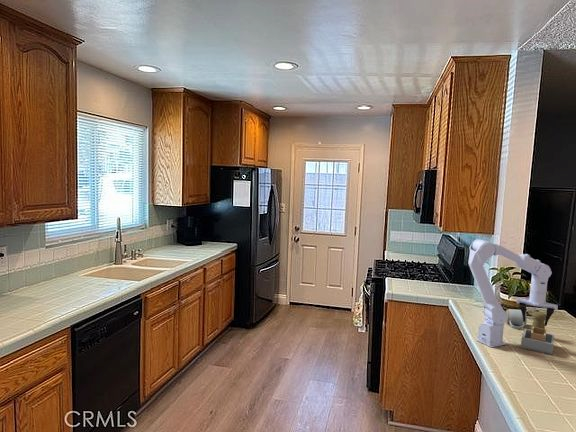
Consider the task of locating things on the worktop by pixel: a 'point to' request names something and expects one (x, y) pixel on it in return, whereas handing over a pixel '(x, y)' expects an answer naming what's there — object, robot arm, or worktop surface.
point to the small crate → (538, 334)
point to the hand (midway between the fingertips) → (534, 323)
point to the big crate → (537, 343)
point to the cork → (539, 320)
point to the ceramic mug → (515, 318)
